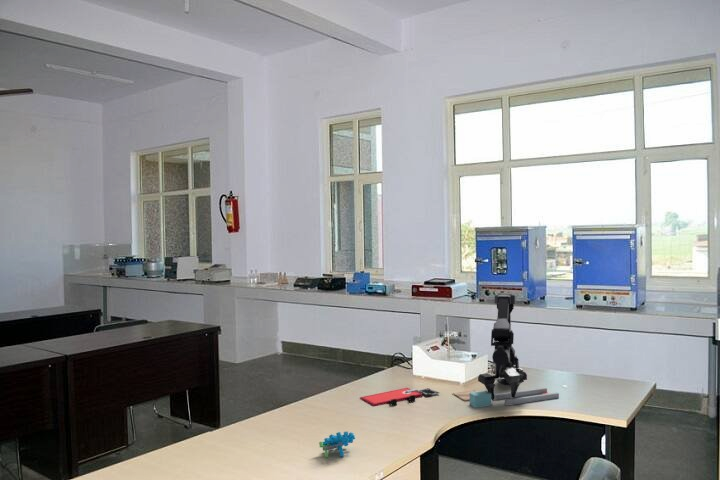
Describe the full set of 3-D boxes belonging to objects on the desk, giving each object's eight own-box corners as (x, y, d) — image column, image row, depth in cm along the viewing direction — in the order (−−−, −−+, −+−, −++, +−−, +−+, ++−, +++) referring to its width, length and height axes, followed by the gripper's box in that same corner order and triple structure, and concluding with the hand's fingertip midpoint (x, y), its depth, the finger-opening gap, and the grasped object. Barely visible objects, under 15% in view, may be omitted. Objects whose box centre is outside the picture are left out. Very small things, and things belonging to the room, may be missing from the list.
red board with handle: (443, 396, 221) (422, 388, 234) (442, 389, 221) (421, 381, 234) (379, 410, 207) (360, 400, 220) (378, 403, 207) (360, 393, 220)
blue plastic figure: (354, 440, 172) (354, 426, 165) (358, 458, 168) (358, 445, 161) (319, 448, 170) (317, 434, 163) (323, 467, 166) (321, 453, 159)
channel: (494, 399, 215) (494, 394, 215) (545, 391, 223) (545, 387, 223) (506, 405, 208) (506, 400, 207) (558, 397, 215) (558, 393, 215)
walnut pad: (452, 394, 223) (452, 393, 223) (474, 391, 226) (474, 390, 226) (464, 401, 213) (464, 400, 213) (487, 398, 217) (487, 397, 217)
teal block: (469, 404, 210) (469, 392, 209) (485, 402, 212) (485, 390, 212) (475, 407, 206) (475, 395, 206) (491, 405, 208) (491, 393, 208)
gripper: (492, 366, 201) (493, 408, 201) (535, 361, 207) (536, 402, 207) (476, 359, 212) (477, 399, 212) (518, 355, 218) (518, 394, 218)
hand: (503, 399), depth 212 cm, fingers open, 9 cm apart
